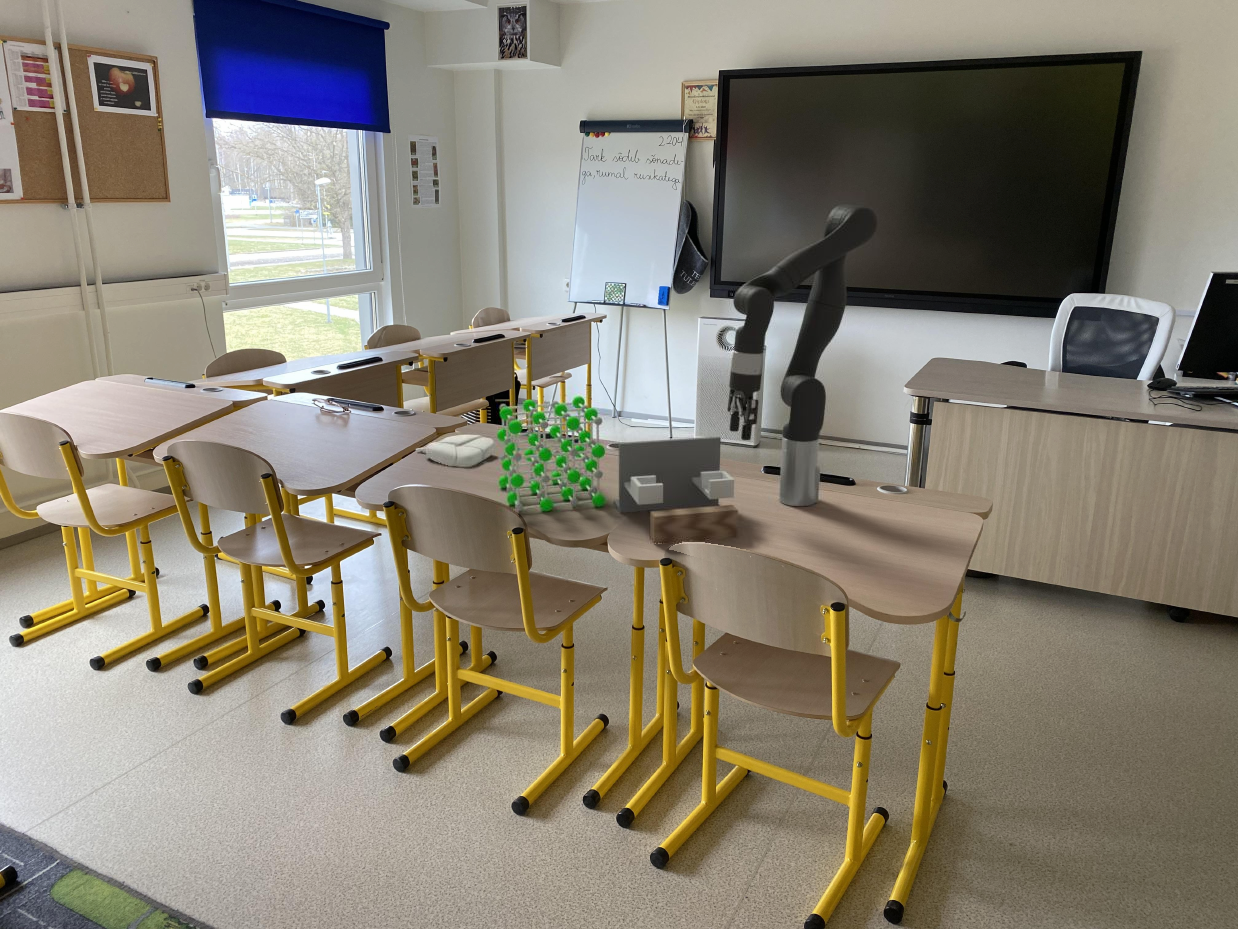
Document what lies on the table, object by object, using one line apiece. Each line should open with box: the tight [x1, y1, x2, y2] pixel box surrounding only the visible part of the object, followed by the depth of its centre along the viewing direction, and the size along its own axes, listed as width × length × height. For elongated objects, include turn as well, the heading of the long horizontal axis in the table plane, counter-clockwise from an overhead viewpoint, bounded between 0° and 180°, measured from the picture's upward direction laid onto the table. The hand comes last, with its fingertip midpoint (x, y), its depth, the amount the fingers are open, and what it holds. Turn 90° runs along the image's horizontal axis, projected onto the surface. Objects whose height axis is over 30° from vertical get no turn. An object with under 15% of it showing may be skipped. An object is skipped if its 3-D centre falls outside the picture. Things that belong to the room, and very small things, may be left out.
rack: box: [613, 436, 735, 514], centre depth 227 cm, size 26×21×18 cm
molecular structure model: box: [496, 395, 606, 512], centre depth 239 cm, size 24×25×24 cm
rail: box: [649, 504, 739, 545], centre depth 213 cm, size 20×4×7 cm, turn 103°
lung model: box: [415, 434, 496, 468], centre depth 277 cm, size 7×17×25 cm
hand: (739, 435), depth 225 cm, fingers open, 8 cm apart
